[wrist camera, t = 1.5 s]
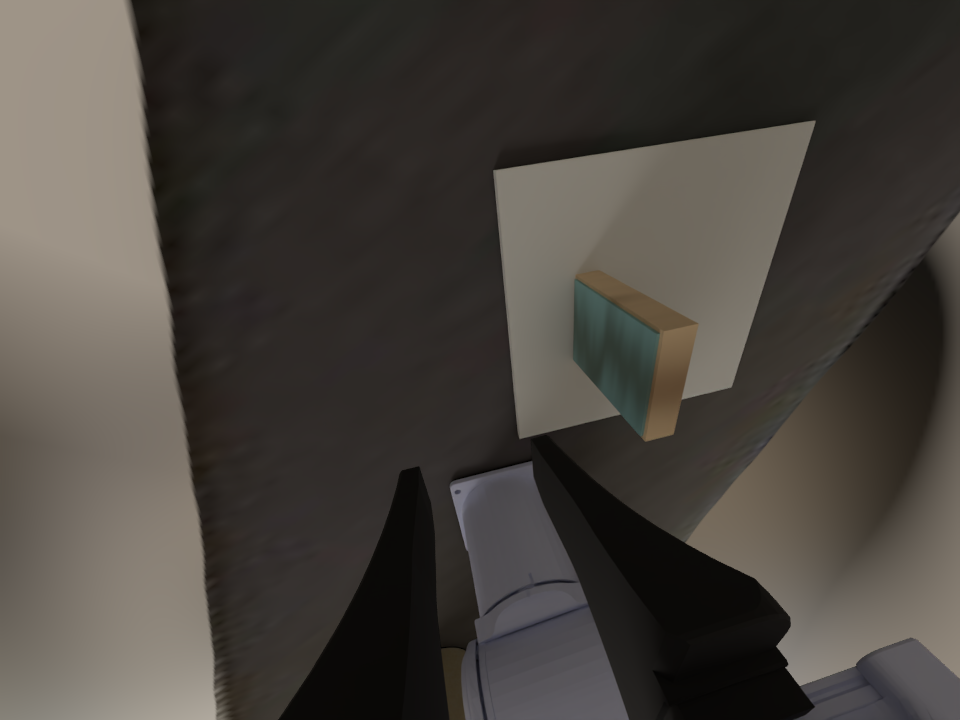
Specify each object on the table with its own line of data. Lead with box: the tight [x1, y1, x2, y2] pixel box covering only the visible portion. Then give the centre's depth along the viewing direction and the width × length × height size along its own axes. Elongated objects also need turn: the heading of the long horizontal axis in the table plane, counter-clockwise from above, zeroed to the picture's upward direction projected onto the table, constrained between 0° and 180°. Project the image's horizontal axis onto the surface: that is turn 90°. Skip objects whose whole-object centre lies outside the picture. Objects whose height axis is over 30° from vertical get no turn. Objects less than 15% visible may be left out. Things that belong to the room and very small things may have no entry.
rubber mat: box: [493, 121, 816, 439], centre depth 22 cm, size 18×18×1 cm
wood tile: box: [573, 270, 699, 442], centre depth 18 cm, size 6×2×8 cm, turn 7°
